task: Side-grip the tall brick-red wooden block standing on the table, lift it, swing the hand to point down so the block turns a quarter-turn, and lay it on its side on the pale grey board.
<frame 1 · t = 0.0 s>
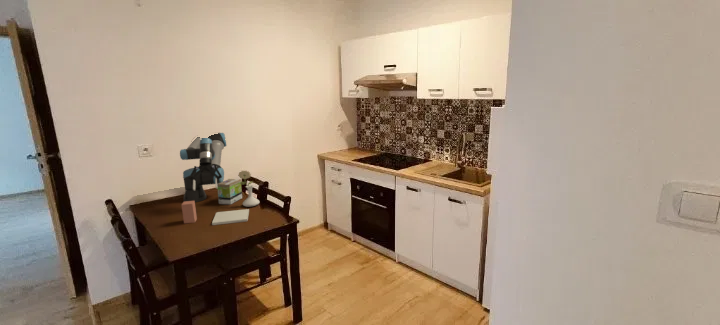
hand: (205, 188, 218), 15 cm above the table, tool tilted 35°, fingers open, 13 cm apart
brick block: (190, 221, 204), on the table
flower in vase: (250, 205, 230), on the table
grey board: (231, 217, 208), on the table
tea box: (231, 201, 240), on the table
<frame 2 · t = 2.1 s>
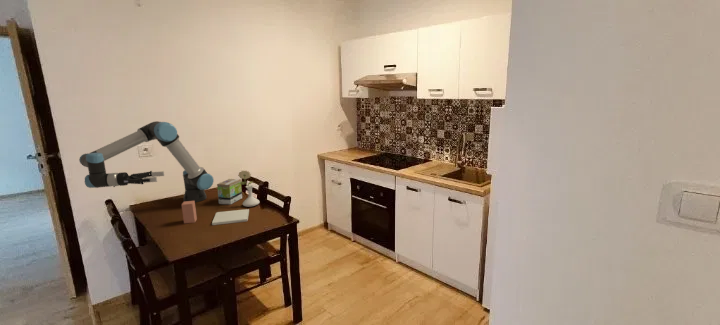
hand: (160, 176, 194), 30 cm above the table, tool horizontal, fingers open, 13 cm apart
nothing on the table moved.
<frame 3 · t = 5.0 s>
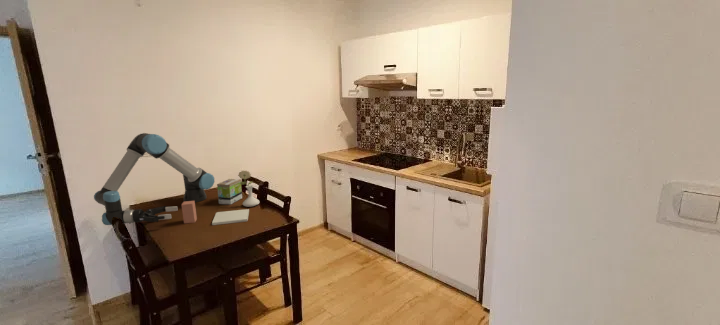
hand: (174, 212, 200), 7 cm above the table, tool horizontal, fingers open, 13 cm apart
nothing on the table moved.
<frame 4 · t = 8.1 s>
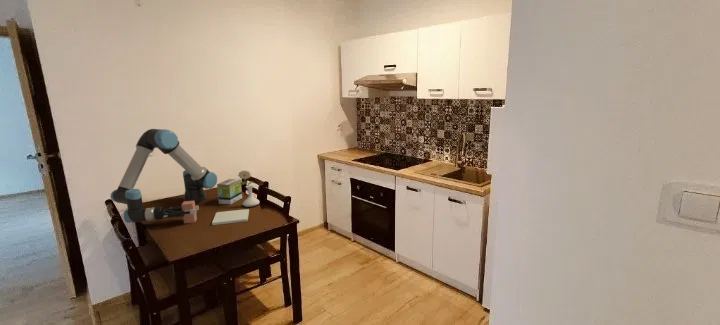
hand: (197, 209, 204), 7 cm above the table, tool horizontal, fingers closed on brick block, 6 cm apart
brick block: (190, 221, 204), on the table, touching gripper
everything else where it was.
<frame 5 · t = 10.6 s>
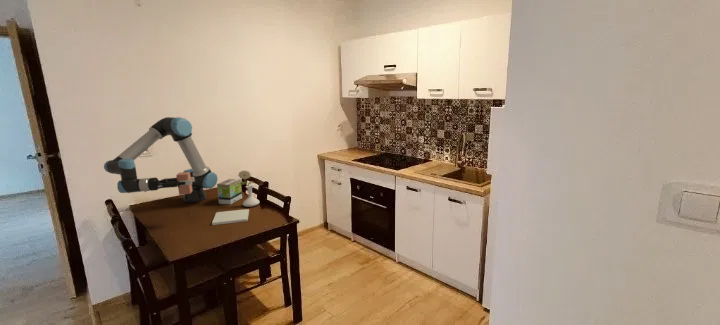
hand: (192, 180, 199), 25 cm above the table, tool horizontal, fingers closed on brick block, 6 cm apart
brick block: (186, 192, 200), point 18 cm above the table, touching gripper
everything else where it was.
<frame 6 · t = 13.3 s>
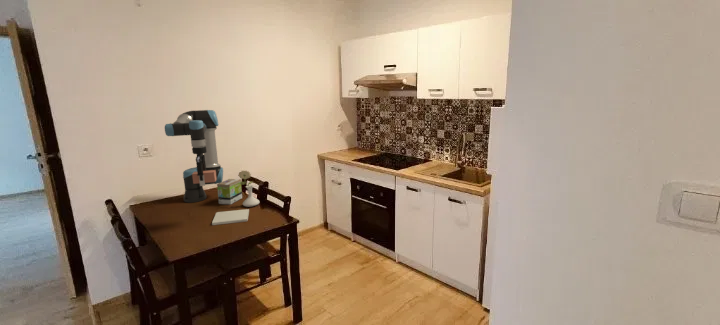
hand: (203, 184, 201), 23 cm above the table, tool pointing down, fingers closed on brick block, 6 cm apart
brick block: (215, 175, 202), point 27 cm above the table, tilted 90°, touching gripper
everything else where it was.
when the fingers open (3 cm above the table, at t = 17.4 s): brick block drops 3 cm, resting on grey board.
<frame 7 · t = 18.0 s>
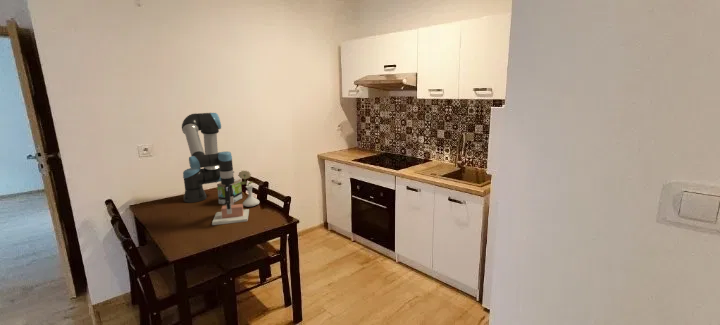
hand: (230, 210, 207), 5 cm above the table, tool pointing down, fingers open, 13 cm apart
brick block: (242, 209, 209), point 4 cm above the table, tilted 90°, touching grey board
everything else where it was.
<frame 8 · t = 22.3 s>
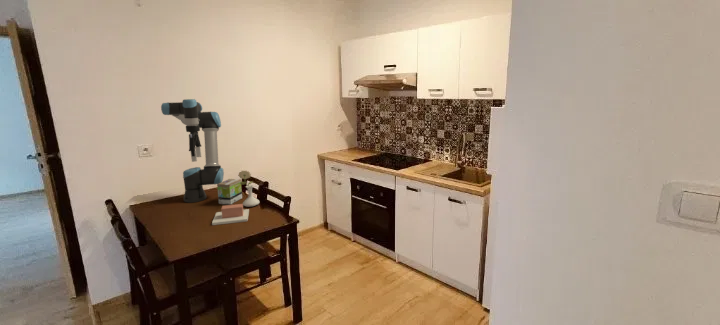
hand: (196, 159, 206), 37 cm above the table, tool pointing down, fingers open, 13 cm apart
nothing on the table moved.
at the end: brick block tilted 90°; brick block touching grey board; brick block inside the target area on the grey board (7.1 cm from its centre), point 4.5 cm above the grey board's base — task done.
